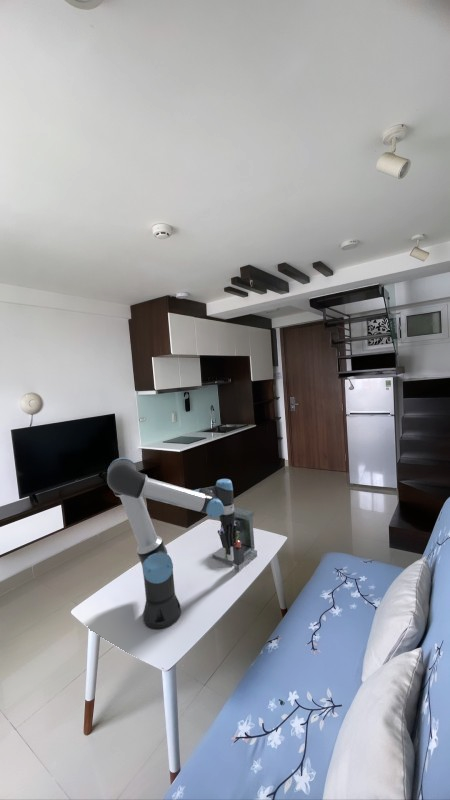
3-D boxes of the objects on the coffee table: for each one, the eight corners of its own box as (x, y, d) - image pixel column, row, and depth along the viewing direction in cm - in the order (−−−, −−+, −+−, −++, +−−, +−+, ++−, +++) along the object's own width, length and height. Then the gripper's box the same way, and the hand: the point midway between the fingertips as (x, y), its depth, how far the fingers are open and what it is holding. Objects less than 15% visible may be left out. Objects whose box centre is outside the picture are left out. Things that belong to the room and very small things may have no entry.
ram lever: (239, 565, 156) (237, 543, 156) (233, 562, 159) (231, 540, 158) (244, 561, 160) (242, 539, 159) (237, 558, 162) (236, 537, 161)
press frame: (239, 571, 157) (236, 531, 156) (209, 559, 169) (206, 522, 168) (264, 550, 175) (261, 513, 173) (236, 540, 187) (233, 506, 186)
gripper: (223, 518, 146) (228, 568, 147) (241, 508, 155) (244, 555, 157) (211, 515, 150) (216, 563, 152) (229, 505, 160) (233, 551, 162)
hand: (230, 559), depth 154 cm, fingers closed
